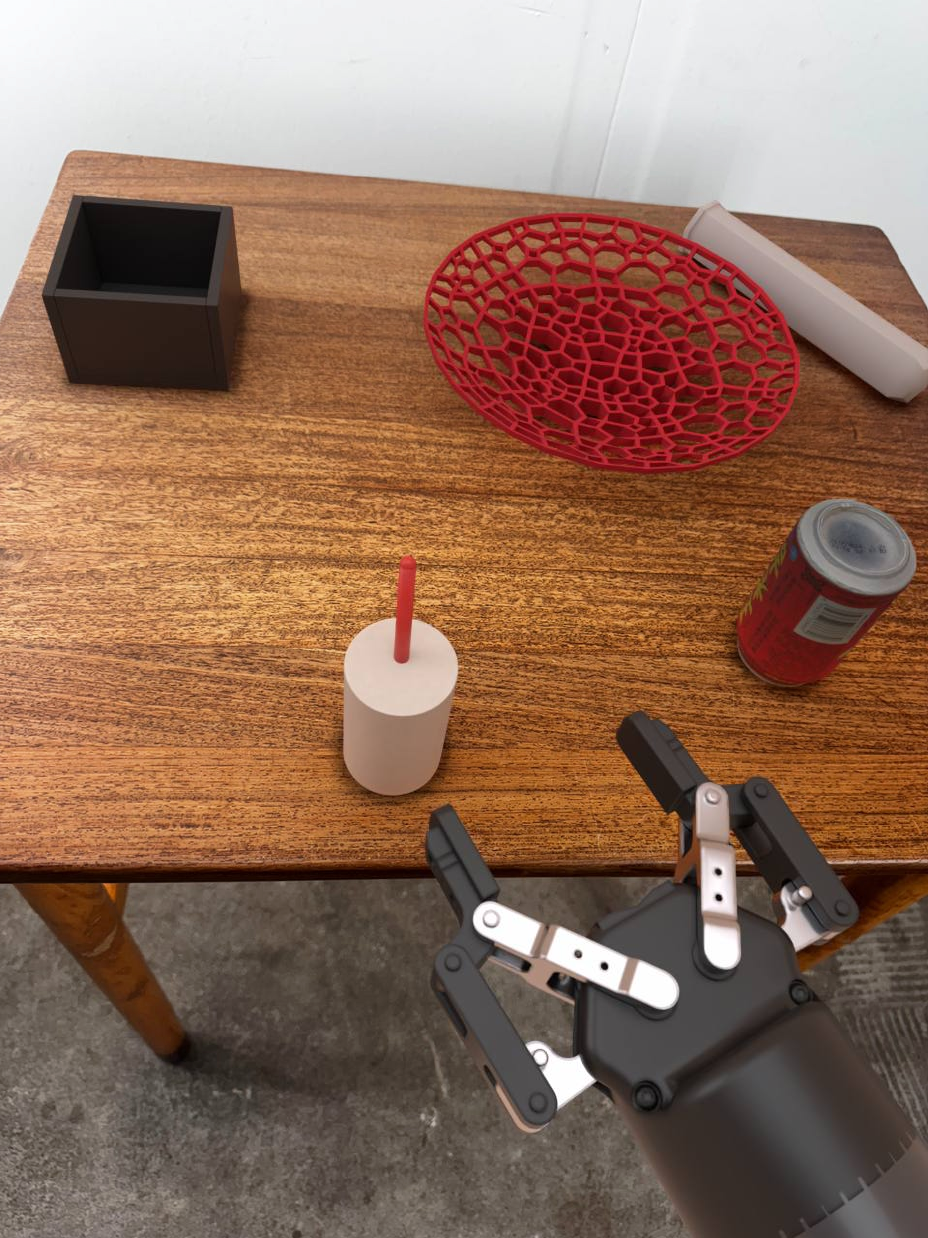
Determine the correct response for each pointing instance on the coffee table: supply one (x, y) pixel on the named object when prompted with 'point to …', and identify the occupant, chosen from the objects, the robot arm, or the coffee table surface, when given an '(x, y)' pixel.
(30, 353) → the coffee table surface
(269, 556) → the coffee table surface
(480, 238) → the bowl
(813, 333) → the tube
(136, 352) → the bin
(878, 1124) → the robot arm
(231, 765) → the coffee table surface
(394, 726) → the paper cup
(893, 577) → the soda can
